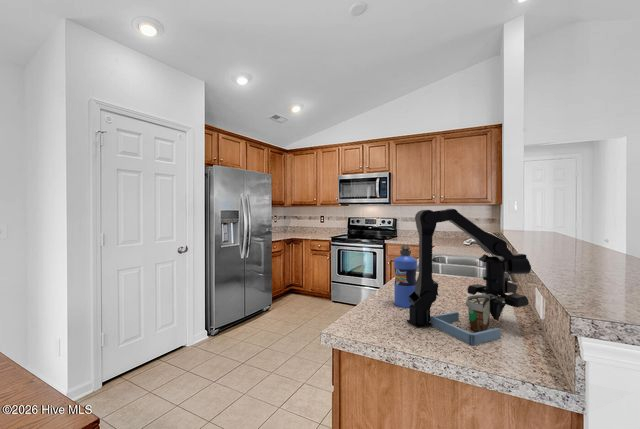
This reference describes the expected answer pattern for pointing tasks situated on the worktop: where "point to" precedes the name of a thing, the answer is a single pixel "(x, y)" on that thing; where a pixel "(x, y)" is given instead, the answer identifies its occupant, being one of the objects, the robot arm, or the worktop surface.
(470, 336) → the slate-blue bay
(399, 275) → the water bottle
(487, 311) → the food container
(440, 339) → the worktop surface
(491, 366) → the worktop surface
